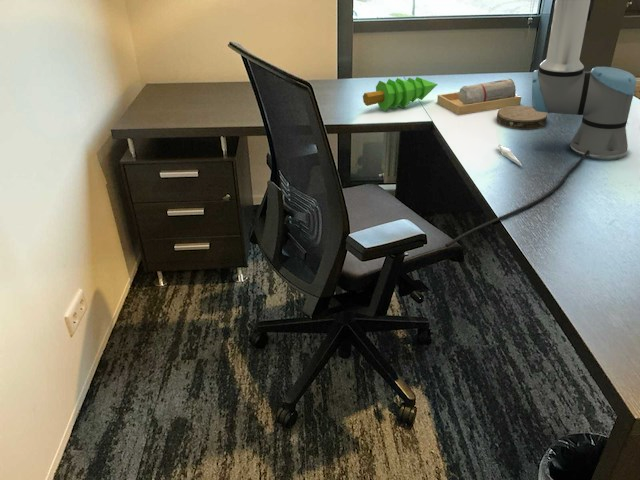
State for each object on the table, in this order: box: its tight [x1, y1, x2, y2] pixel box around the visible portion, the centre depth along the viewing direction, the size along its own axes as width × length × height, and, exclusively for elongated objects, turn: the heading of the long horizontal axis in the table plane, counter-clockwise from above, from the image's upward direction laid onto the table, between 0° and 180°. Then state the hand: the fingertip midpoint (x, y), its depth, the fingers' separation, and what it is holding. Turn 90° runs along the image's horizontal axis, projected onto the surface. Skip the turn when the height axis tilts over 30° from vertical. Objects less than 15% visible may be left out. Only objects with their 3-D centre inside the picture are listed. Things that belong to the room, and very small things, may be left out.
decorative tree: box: [362, 76, 439, 112], centre depth 206 cm, size 11×12×30 cm
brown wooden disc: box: [496, 105, 548, 130], centre depth 187 cm, size 16×16×3 cm
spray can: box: [458, 78, 517, 105], centre depth 202 cm, size 8×8×20 cm
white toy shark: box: [497, 144, 523, 167], centre depth 161 cm, size 15×3×2 cm, turn 9°
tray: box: [436, 91, 522, 116], centre depth 206 cm, size 26×16×3 cm, turn 108°
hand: (571, 18), depth 192 cm, fingers open, 13 cm apart
